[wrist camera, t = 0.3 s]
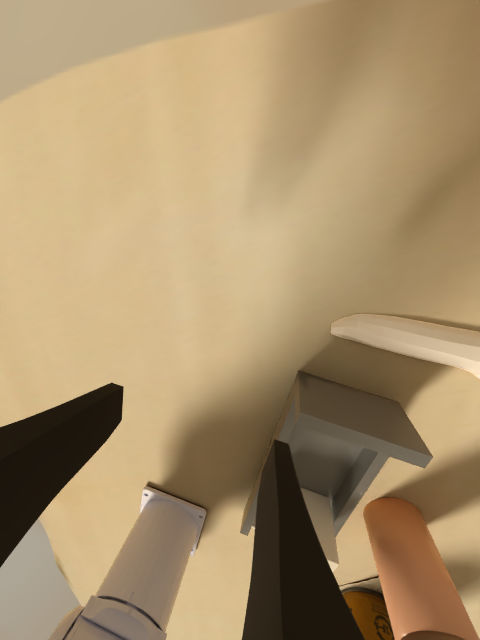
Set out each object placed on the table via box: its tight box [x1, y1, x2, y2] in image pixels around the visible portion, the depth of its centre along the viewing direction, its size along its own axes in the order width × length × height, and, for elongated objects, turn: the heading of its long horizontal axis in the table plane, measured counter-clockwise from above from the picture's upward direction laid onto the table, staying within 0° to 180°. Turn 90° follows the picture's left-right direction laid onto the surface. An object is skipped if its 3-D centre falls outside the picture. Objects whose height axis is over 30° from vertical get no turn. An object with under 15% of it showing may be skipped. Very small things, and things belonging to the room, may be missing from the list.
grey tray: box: [240, 371, 433, 537], centre depth 20 cm, size 19×8×5 cm, turn 166°
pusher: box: [300, 487, 339, 572], centre depth 21 cm, size 1×6×6 cm, turn 77°
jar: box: [363, 498, 479, 640], centre depth 19 cm, size 5×5×9 cm
